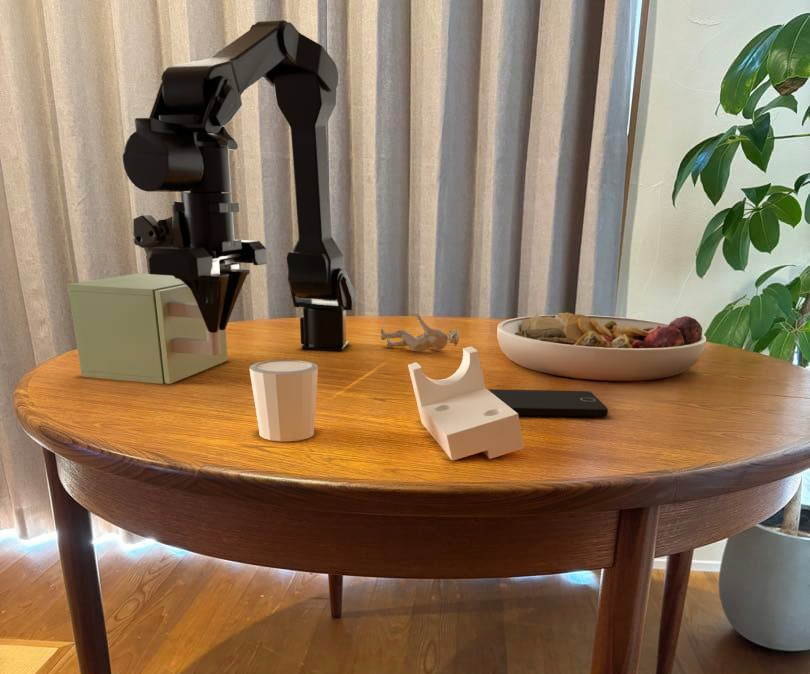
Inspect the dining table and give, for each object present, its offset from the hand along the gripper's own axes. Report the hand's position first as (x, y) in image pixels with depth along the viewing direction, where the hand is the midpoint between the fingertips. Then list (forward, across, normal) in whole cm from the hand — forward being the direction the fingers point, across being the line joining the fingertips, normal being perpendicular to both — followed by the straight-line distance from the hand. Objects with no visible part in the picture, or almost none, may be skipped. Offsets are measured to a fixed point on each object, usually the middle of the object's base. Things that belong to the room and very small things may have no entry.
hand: (217, 331), depth 94 cm
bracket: (+7, +12, +34) cm, 37 cm away
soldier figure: (+7, -32, +18) cm, 37 cm away
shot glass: (+7, +16, +16) cm, 24 cm away
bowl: (+7, -32, +45) cm, 56 cm away
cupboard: (+7, -6, -13) cm, 16 cm away
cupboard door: (+7, -6, -3) cm, 9 cm away
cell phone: (+7, -3, +38) cm, 39 cm away
